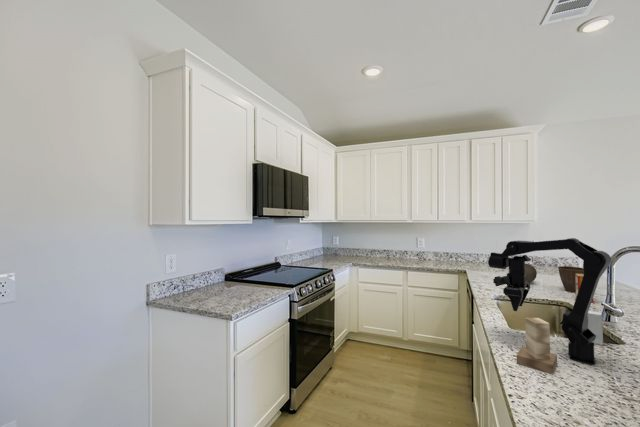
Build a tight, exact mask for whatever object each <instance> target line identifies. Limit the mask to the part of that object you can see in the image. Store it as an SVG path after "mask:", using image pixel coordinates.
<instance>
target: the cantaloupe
mask: <svg viewBox="0 0 640 427" xmlns="http://www.w3.org/2000/svg"><path fill="white" fill-rule="evenodd" d="M525 273H526V276H525V281H526V282H529V283H530V284H531V283H533V282H534V281H535V280H536V279H537V273H538V271H537V269H536V268H535V266H533V265H532V264H528V263H525Z"/></svg>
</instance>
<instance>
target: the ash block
mask: <svg viewBox="0 0 640 427" xmlns="http://www.w3.org/2000/svg"><path fill="white" fill-rule="evenodd" d="M524 321H525V322H524V324H525V326H524V327H525V347H526V352H527V353H529V354H530V355H532V356H533V357H534V358H536V359H550V353H551V334H550V332H551V331H550V323H549V322H548V321H545V320H544V319H542V318H540V317H525V319H524Z"/></svg>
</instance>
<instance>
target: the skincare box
mask: <svg viewBox="0 0 640 427" xmlns="http://www.w3.org/2000/svg"><path fill="white" fill-rule="evenodd" d="M588 329H589V330H590V331H591V332H593V333H594V334H595V335H596V338H595V340H594V341H593V343H594V345H600V346H604V336H603V335H604V333H603V332H604V331H603V319H602V313H601V312H598V311H591V310H589V311H588Z"/></svg>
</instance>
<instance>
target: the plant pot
mask: <svg viewBox="0 0 640 427" xmlns="http://www.w3.org/2000/svg"><path fill="white" fill-rule="evenodd" d="M557 268H558V269H557V270H558V273H559V277H560V280H561V283H562V286H563V288H564V291H566V292H568V293H572V294H573V293H575V294H576V284H575V273H576V274H584V271H583V267H578V266H567V265H566V266H558V267H557Z"/></svg>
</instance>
